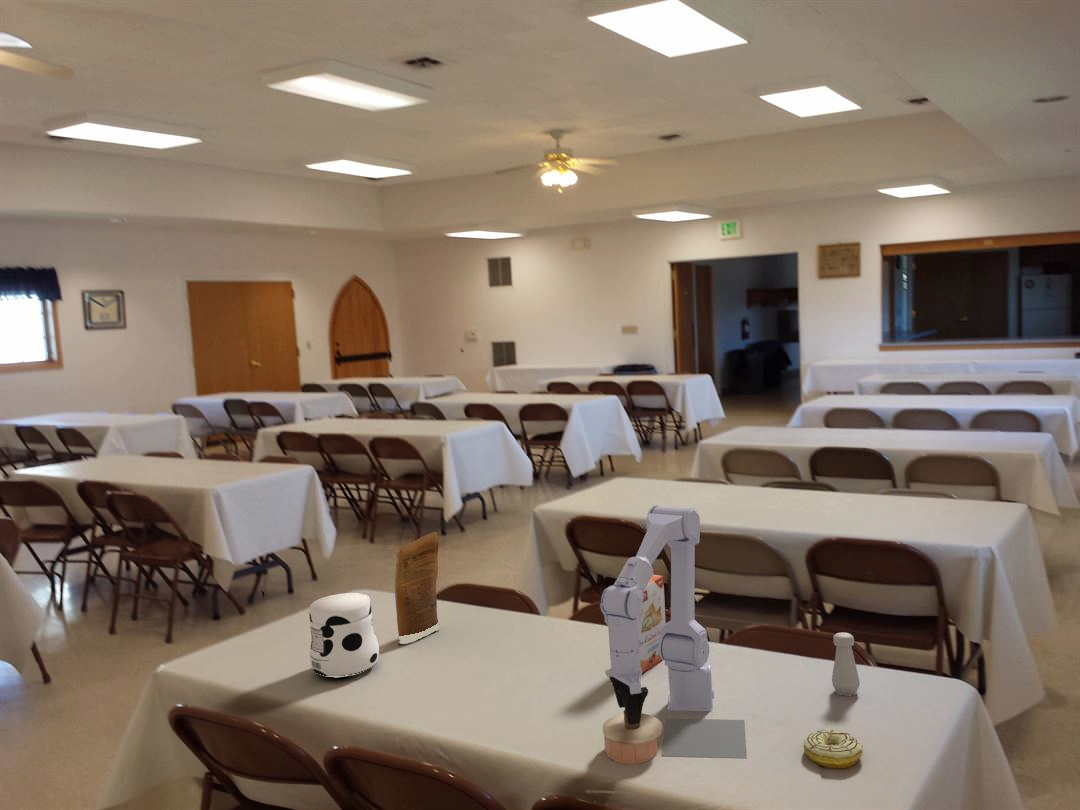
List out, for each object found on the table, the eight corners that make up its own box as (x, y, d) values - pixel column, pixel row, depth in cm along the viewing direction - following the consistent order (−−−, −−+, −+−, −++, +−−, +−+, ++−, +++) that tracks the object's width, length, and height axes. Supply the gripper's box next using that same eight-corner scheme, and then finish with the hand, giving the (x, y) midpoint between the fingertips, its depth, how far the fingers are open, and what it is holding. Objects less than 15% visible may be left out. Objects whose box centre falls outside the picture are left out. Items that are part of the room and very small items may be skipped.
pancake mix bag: (453, 626, 258) (445, 531, 255) (407, 649, 243) (397, 547, 240) (436, 623, 262) (427, 529, 259) (389, 645, 247) (379, 545, 244)
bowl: (658, 740, 181) (657, 719, 180) (655, 765, 171) (654, 743, 171) (609, 739, 183) (607, 718, 182) (603, 764, 173) (601, 742, 173)
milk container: (388, 656, 239) (382, 590, 237) (369, 682, 222) (362, 611, 220) (325, 658, 241) (318, 593, 239) (301, 685, 224) (294, 614, 222)
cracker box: (640, 677, 213) (634, 591, 211) (618, 672, 216) (612, 588, 214) (669, 656, 224) (664, 574, 222) (648, 652, 227) (643, 572, 225)
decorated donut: (864, 747, 172) (863, 728, 172) (861, 775, 163) (861, 755, 162) (807, 741, 176) (807, 722, 176) (801, 767, 167) (800, 748, 166)
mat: (744, 721, 186) (744, 719, 186) (746, 760, 171) (746, 758, 171) (666, 720, 189) (666, 718, 189) (661, 758, 174) (661, 756, 174)
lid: (664, 717, 181) (662, 698, 181) (660, 744, 170) (659, 725, 169) (606, 716, 183) (605, 698, 183) (599, 743, 172) (598, 724, 172)
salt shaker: (838, 684, 201) (835, 627, 199) (864, 689, 197) (861, 632, 196) (828, 694, 196) (825, 636, 195) (854, 699, 192) (851, 640, 191)
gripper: (596, 637, 181) (601, 702, 183) (613, 663, 167) (618, 734, 169) (630, 632, 183) (634, 697, 184) (649, 658, 168) (654, 728, 170)
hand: (629, 714), depth 176 cm, fingers open, 7 cm apart
